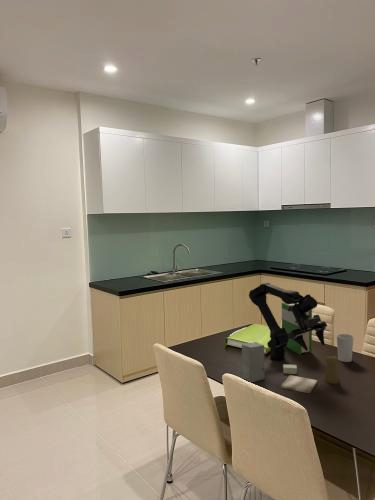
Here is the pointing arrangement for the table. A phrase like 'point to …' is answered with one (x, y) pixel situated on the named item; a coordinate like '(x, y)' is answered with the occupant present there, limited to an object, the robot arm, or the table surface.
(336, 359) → the cork
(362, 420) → the table surface
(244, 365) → the skincare box
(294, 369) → the soap bar
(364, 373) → the table surface
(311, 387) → the board
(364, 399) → the table surface
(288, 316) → the hardback book
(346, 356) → the cup
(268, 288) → the robot arm
